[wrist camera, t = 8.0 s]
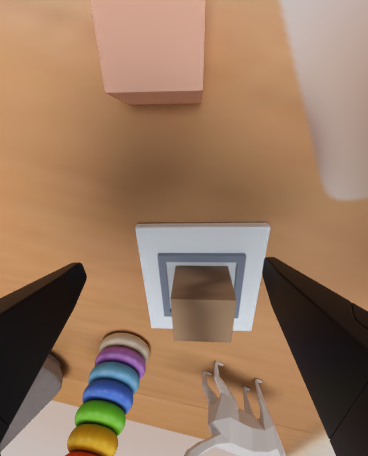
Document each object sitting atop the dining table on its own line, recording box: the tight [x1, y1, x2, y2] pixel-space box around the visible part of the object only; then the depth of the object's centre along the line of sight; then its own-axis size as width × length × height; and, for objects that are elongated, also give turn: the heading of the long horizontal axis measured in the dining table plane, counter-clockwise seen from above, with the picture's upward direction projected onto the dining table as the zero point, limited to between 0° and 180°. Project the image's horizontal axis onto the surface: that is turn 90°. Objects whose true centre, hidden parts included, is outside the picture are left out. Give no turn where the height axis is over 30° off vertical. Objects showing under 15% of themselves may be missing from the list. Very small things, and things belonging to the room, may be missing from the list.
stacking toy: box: [66, 333, 150, 456], centre depth 22 cm, size 8×8×19 cm
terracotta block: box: [90, 0, 205, 105], centre depth 12 cm, size 6×6×5 cm
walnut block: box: [170, 266, 236, 343], centre depth 21 cm, size 6×6×5 cm
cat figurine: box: [184, 361, 286, 456], centre depth 26 cm, size 4×20×14 cm, turn 59°
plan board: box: [135, 223, 271, 331], centre depth 23 cm, size 14×16×2 cm
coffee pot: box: [0, 354, 63, 456], centre depth 26 cm, size 21×12×15 cm, turn 139°
